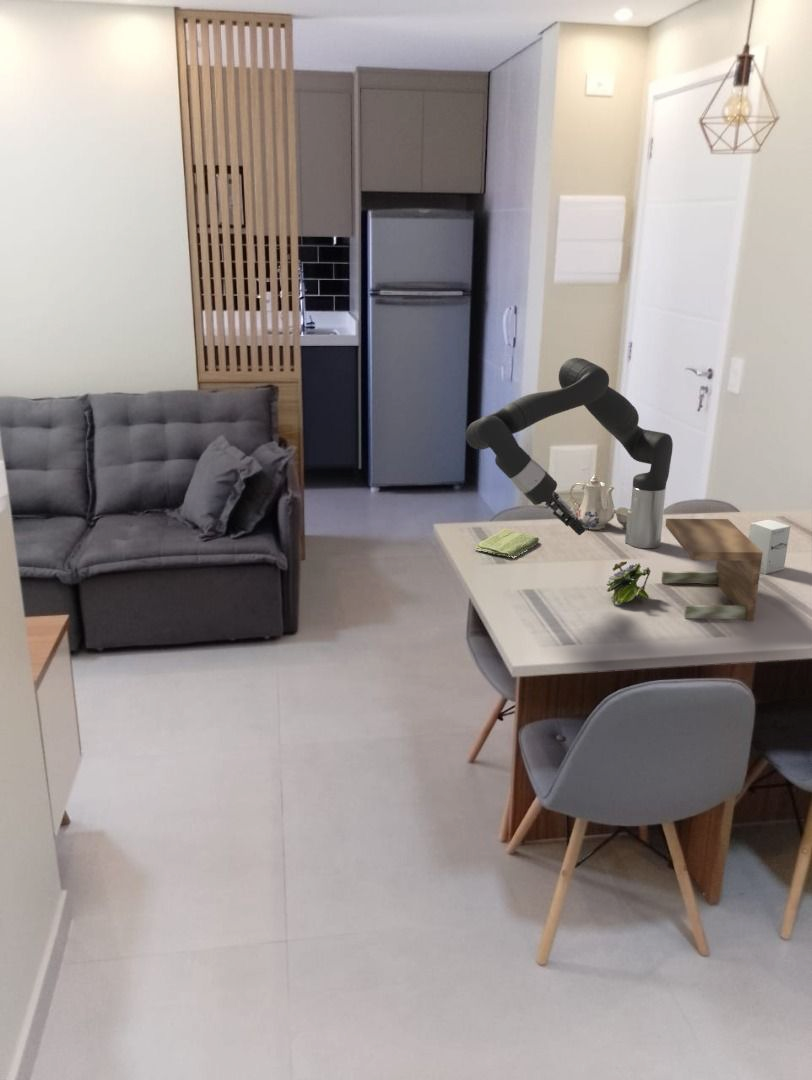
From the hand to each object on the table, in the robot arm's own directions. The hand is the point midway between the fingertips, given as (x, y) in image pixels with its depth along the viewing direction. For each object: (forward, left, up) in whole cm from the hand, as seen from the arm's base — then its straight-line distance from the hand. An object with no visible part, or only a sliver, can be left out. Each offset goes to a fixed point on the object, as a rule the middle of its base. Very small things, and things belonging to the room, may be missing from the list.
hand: (581, 529), depth 213 cm
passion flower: (+10, +8, -18) cm, 22 cm away
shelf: (+25, +19, -18) cm, 36 cm away
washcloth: (-34, +21, -19) cm, 44 cm away
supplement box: (+29, +51, -18) cm, 61 cm away
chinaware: (-25, +58, -18) cm, 66 cm away
